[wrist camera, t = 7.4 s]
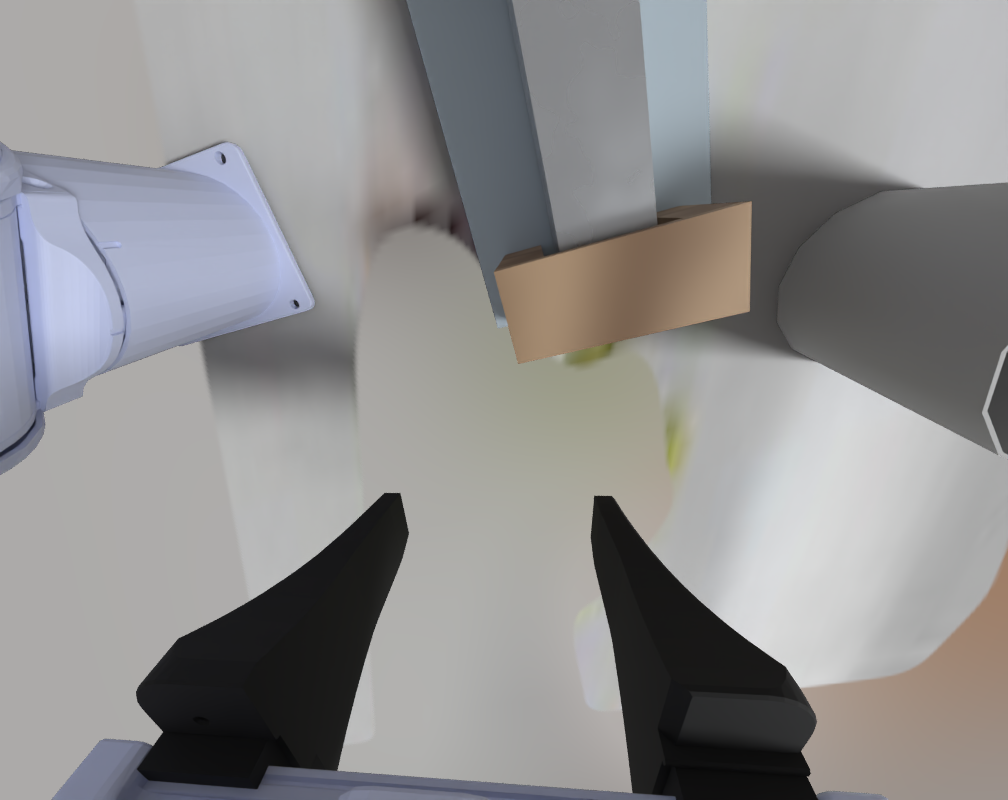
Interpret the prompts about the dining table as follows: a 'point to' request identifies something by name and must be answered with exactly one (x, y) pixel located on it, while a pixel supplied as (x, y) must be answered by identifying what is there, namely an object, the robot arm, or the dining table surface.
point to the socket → (629, 282)
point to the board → (506, 127)
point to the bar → (587, 115)
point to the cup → (912, 303)
